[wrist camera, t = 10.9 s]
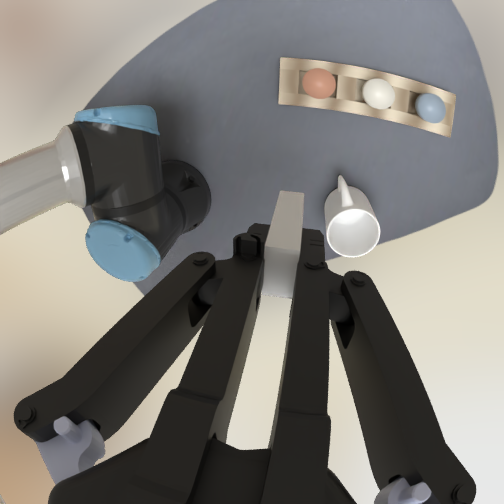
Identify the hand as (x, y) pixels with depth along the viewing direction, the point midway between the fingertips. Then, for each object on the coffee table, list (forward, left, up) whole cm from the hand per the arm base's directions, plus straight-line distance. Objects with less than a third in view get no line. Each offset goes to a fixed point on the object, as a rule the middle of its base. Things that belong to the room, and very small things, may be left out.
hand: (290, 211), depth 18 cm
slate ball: (+20, +9, -30) cm, 37 cm away
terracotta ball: (+2, +9, -30) cm, 32 cm away
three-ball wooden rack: (+11, +9, -32) cm, 35 cm away
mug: (+9, -11, -33) cm, 36 cm away
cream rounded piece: (+11, +9, -30) cm, 33 cm away
